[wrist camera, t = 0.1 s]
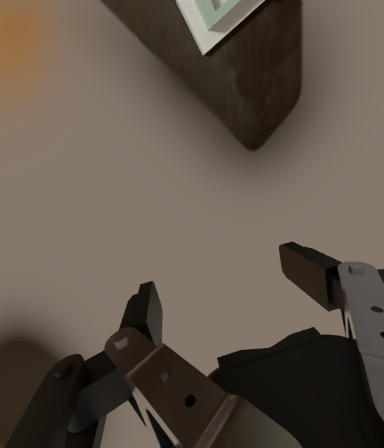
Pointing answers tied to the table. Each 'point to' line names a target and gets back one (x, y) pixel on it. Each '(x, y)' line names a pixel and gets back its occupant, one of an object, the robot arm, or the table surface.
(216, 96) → the table surface
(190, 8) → the socket plate
